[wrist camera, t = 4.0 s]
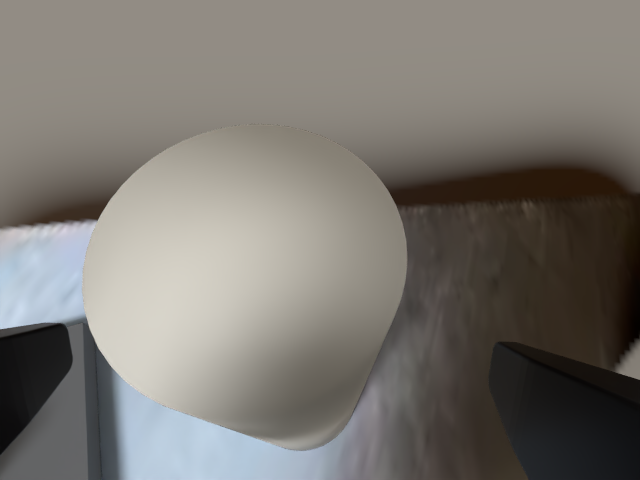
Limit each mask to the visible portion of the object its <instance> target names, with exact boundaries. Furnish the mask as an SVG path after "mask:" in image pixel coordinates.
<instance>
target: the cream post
mask: <svg viewBox="0 0 640 480" xmlns="http://www.w3.org/2000/svg"><path fill="white" fill-rule="evenodd" d="M406 272H407V243H406V237H405V232H404V227H403V223H402V220H401V217H400V215H399V212H398V209H397V206H396V204H395V203H394V201H393V199H392V197H391V195H390V193H389V191H388V190H387V188H386V187H385V185H384V184H383V183H382V181H381V180H380V179H379V177H378V176H377V175H376V174H375V173H374V172H373V171H372V170H371V169H370V167H368V165H367V164H366V163H364V162H363V161H362V160H361V159H359V158H358V157H357V156H356V155H355V154H353V153H352V152H350V151H349V150H347V149H346V148H344V147H342V146H341V145H339V144H338V143H336V142H334V141H331V140H329V139H327V138H325V137H323V136H320V135H318V134H314V133H312V132H309V131H306V130H301V129H297V128H293V127H288V126H280V125H269V124H267V125H266V124H250V125H238V126H231V127H226V128H220V129H216V130H212V131H209V132H205V133H202V134H199V135H196V136H194V137H191V138H189V139H186V140H184V141H182V142H180V143H178V144H176V145H174V146H172V147H170V148H168V149H166V150H165V151H163V152H161V153H160V154H158V155H157V156H155V157H154V158H152V159H151V160H149V161H148V162H147V163H146V164H145V165H143V166H142V167H141V168H140V169H138V170H137V171H136V172H135V173H134V174H133V175H132V176H131V177H130V178H129V179H128V180H127V181H126V182H125V183H124V184H123V185H122V186H121V187H120V189H119V190H118V191H117V192H116V194H115V195H114V196H113V197H112V198H111V200H110V201H109V203H108V204H107V206H106V208H105V209H104V211H103V212H102V214H101V216H100V218H99V220H98V222H97V224H96V226H95V228H94V230H93V233H92V235H91V239H90V242H89V245H88V248H87V251H86V256H85V262H84V267H83V281H82V293H83V302H84V310H85V314H86V317H87V321H88V324H89V328H90V331H91V333H92V335H93V337H94V339H95V342H96V344H97V346H98V348H99V350H100V351H101V353H102V354H103V355H104V357H105V358H106V360H107V361H108V363H109V364H110V366H111V367H112V368H113V369H114V370H115V371H116V372H117V373H118V374H119V375H120V376H121V377H122V378H123V379H124V381H126V382H127V383H128V384H129V385H131V386H132V387H133V388H135V389H136V390H137V391H139V392H140V393H141V394H143V395H144V396H146V397H148V398H150V399H152V400H154V401H155V402H157V403H159V404H161V405H163V406H165V407H168V408H171V409H174V410H177V411H180V412H182V413H185V414H188V415H191V416H194V417H197V418H200V419H202V420H205V421H208V422H211V423H214V424H217V425H220V426H222V427H225V428H228V429H231V430H234V431H237V432H240V433H242V434H245V435H248V436H251V437H254V438H257V439H260V440H262V441H265V442H268V443H271V444H274V445H277V446H280V447H282V448H285V449H289V450H294V451H306V450H312V449H316V448H319V447H321V446H324V445H325V444H327V443H329V442H331V441H332V440H333V439H334V438H336V437H337V436H338V435H339V434H340V433H341V432H342V430H343V429H344V428H345V426H346V425H347V423H348V422H349V420H350V418H351V415H352V413H353V411H354V409H355V406H356V404H357V402H358V399H359V397H360V395H361V393H362V390H363V388H364V386H365V383H366V381H367V379H368V377H369V374H370V372H371V370H372V367H373V365H374V363H375V361H376V358H377V356H378V354H379V351H380V349H381V347H382V344H383V342H384V340H385V338H386V335H387V333H388V331H389V328H390V326H391V324H392V322H393V319H394V317H395V314H396V312H397V309H398V307H399V304H400V302H401V298H402V294H403V290H404V286H405V281H406Z"/></svg>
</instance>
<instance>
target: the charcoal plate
mask: <svg viewBox="0 0 640 480" xmlns="http://www.w3.org/2000/svg"><path fill="white" fill-rule="evenodd" d="M67 328H68V332H69V337H70V343H71V349H72V354H73V363H72V367H71V369H70V371H69V373H68V374H67V375H66V377H65V378H64V379H63V381H62V382H61V383H60V384H59V386H58V387H57V388H56V390H55V391H54V392H53V394H52V395H51V396H50V398H49V399H48V400H47V402H46V403H45V404H44V406H43V407H42V408H41V410H40V411H39V412H38V414H37V415H36V416H35V417H34V419H33V420H32V421H31V422H30V424H29V425H28V426H27V427H26V428H25V429H24V430H23V432H22V433H21V434H20V435H19V436H18V437H17V438H16V439H15V440H14V441H13V443H12V444H11V445H10V446H9V447H8V448H7V449H6V450H5V451H4V452H3V454H2V455H1V456H0V480H102V479H101V459H100V438H99V417H98V396H97V376H96V355H95V339H94V337H93V335H92V333H91V331H90V328H89V326H88V325H86V324H84V323H79V324H76V325H72V326H68V327H67Z"/></svg>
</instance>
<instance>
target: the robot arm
mask: <svg viewBox="0 0 640 480" xmlns="http://www.w3.org/2000/svg"><path fill="white" fill-rule="evenodd" d="M72 363H73V354H72V349H71V343H70V337H69V332H68V328H67V327H66V326H65V325H64V324H62V323H39V324H33V325H26V326H20V327H13V328H7V329H0V456H1V455H2V454H3V452H4V451H5V450H6V449H7V448H8V447H9V446H10V445H11V444H12V443H13V441H14V440H15V439H16V438H17V437H18V436H19V435H20V434H21V433H22V432H23V430H24V429H25V428H26V427H27V426H28V425H29V424H30V422H31V421H32V420H33V419H34V417H35V416H36V415H37V414H38V412H39V411H40V410H41V408H42V407H43V406H44V404H45V403H46V402H47V400H48V399H49V398H50V396H51V395H52V394H53V392H54V391H55V390H56V388H57V387H58V386H59V384H60V383H61V382H62V381H63V379H64V378H65V377H66V375H67V374H68V373H69V371H70V369H71V367H72ZM489 388H490V392H491V394H492V397H493V399H494V402H495V405H496V407H497V410H498V413H499V415H500V418H501V420H502V423H503V426H504V428H505V431H506V434H507V436H508V439H509V441H510V443H511V446H512V448H513V450H514V452H515V454H516V456H517V458H518V460H519V462H520V464H521V466H522V467H523V469H524V471H525V473H526V475H527V477H528V479H529V480H640V380H638V379H635V378H632V377H628V376H625V375H622V374H618V373H615V372H612V371H609V370H605V369H602V368H599V367H595V366H592V365H589V364H586V363H582V362H579V361H576V360H572V359H569V358H566V357H563V356H559V355H556V354H553V353H549V352H546V351H543V350H539V349H536V348H533V347H530V346H526V345H523V344H520V343H516V342H497V343H496V344H495V345H494V348H493V353H492V359H491V365H490V371H489Z"/></svg>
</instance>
